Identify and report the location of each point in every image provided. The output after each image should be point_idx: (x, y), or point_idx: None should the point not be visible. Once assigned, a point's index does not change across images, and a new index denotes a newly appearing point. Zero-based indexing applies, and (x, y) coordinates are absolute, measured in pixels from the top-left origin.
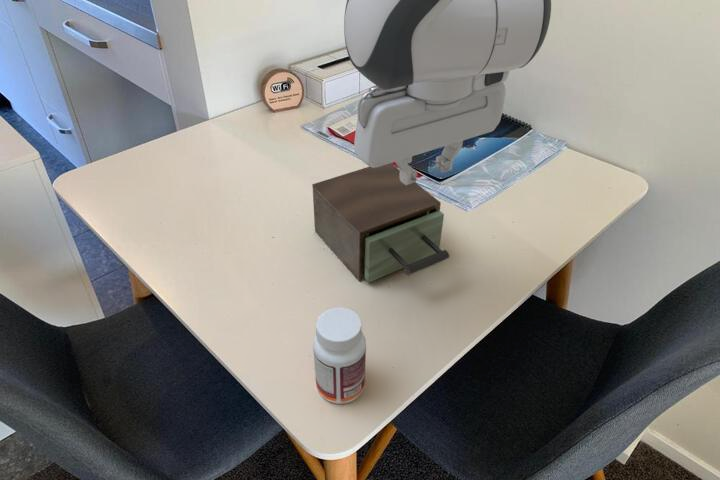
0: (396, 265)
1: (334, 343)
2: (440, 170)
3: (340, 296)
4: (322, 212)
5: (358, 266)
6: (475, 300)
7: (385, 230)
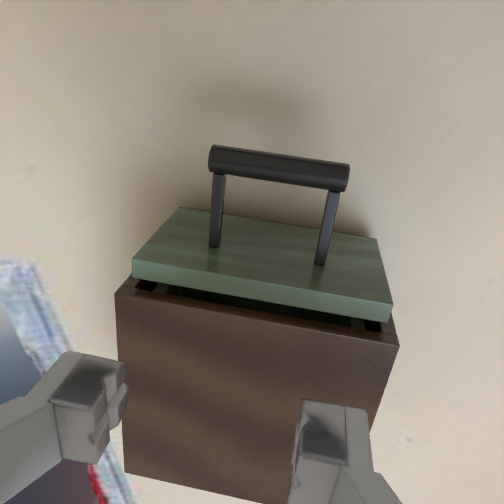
0: (299, 233)
1: None
2: (122, 379)
3: (442, 250)
4: None
5: None
6: (209, 36)
7: None
